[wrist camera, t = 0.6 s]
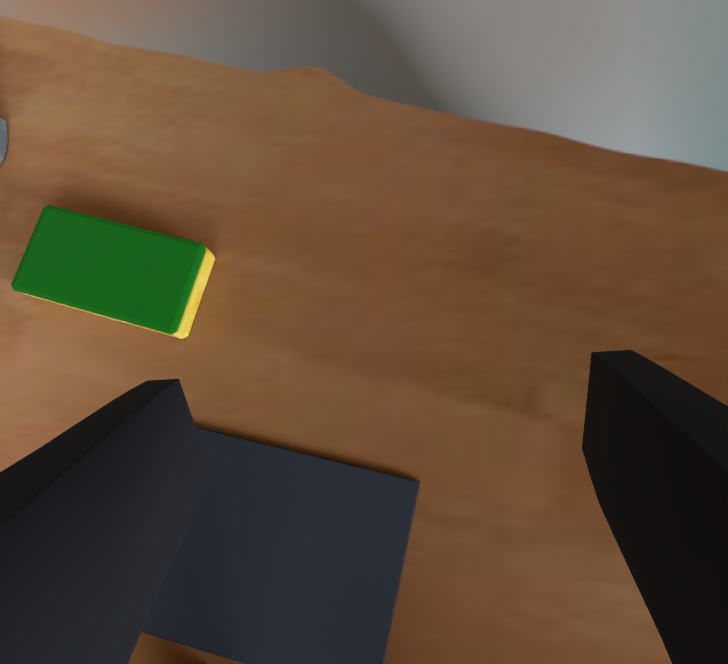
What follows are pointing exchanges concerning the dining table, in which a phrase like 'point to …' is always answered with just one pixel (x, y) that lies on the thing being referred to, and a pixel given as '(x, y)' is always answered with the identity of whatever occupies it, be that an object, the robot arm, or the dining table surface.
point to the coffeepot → (3, 139)
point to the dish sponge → (115, 271)
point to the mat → (287, 558)
